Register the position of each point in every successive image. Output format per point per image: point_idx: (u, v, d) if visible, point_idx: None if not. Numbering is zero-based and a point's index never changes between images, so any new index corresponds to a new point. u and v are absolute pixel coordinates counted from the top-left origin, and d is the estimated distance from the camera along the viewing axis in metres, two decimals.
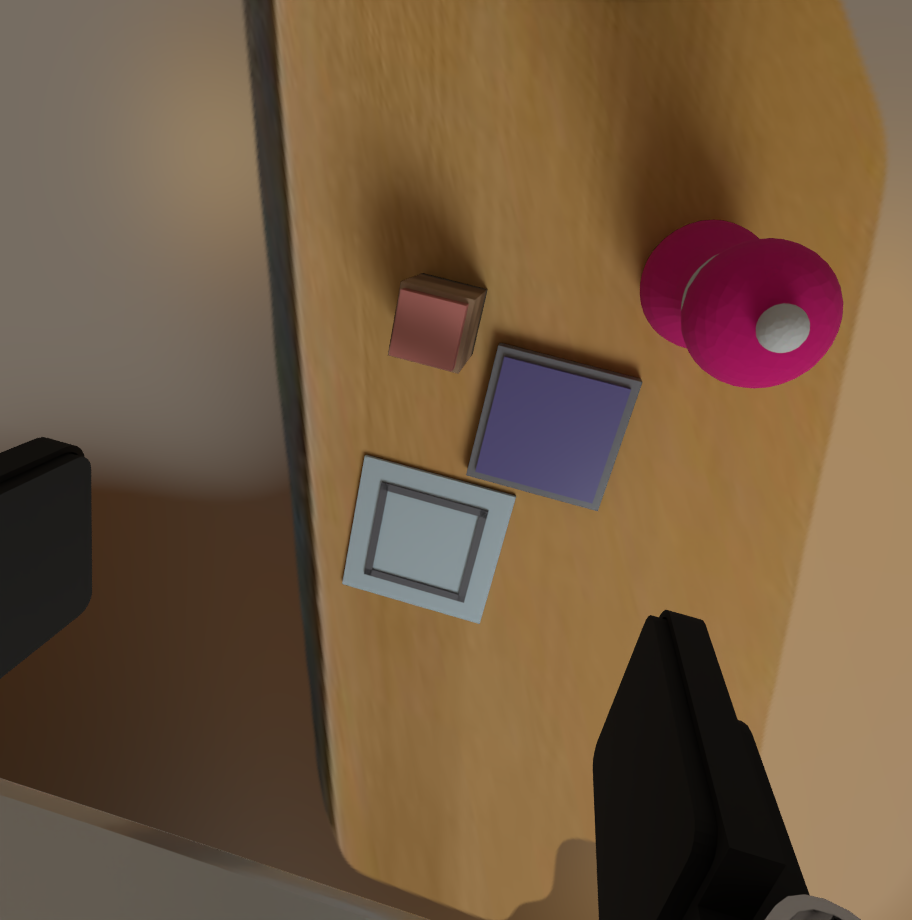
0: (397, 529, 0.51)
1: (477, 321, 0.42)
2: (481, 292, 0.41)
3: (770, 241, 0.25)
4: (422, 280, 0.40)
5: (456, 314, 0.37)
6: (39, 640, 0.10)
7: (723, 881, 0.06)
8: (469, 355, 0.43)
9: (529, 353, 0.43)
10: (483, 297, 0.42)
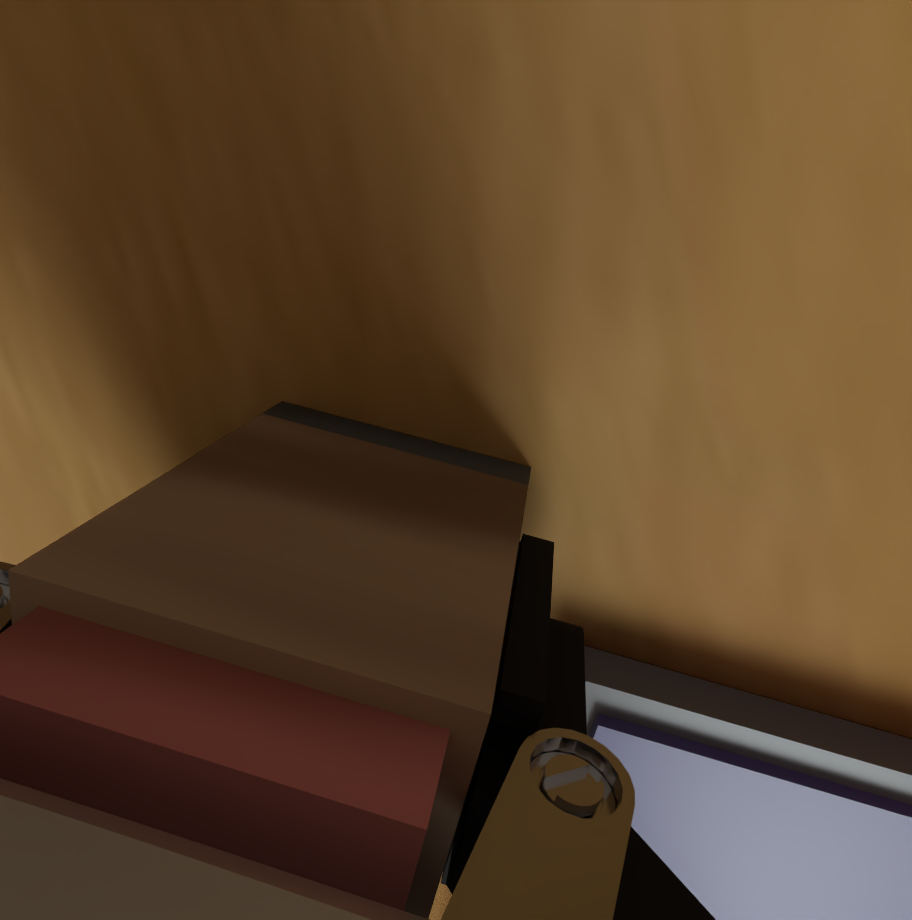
0: None
1: None
2: (513, 520, 0.09)
3: None
4: (224, 486, 0.08)
5: (355, 865, 0.05)
6: None
7: (500, 721, 0.07)
8: None
9: (696, 712, 0.11)
10: None
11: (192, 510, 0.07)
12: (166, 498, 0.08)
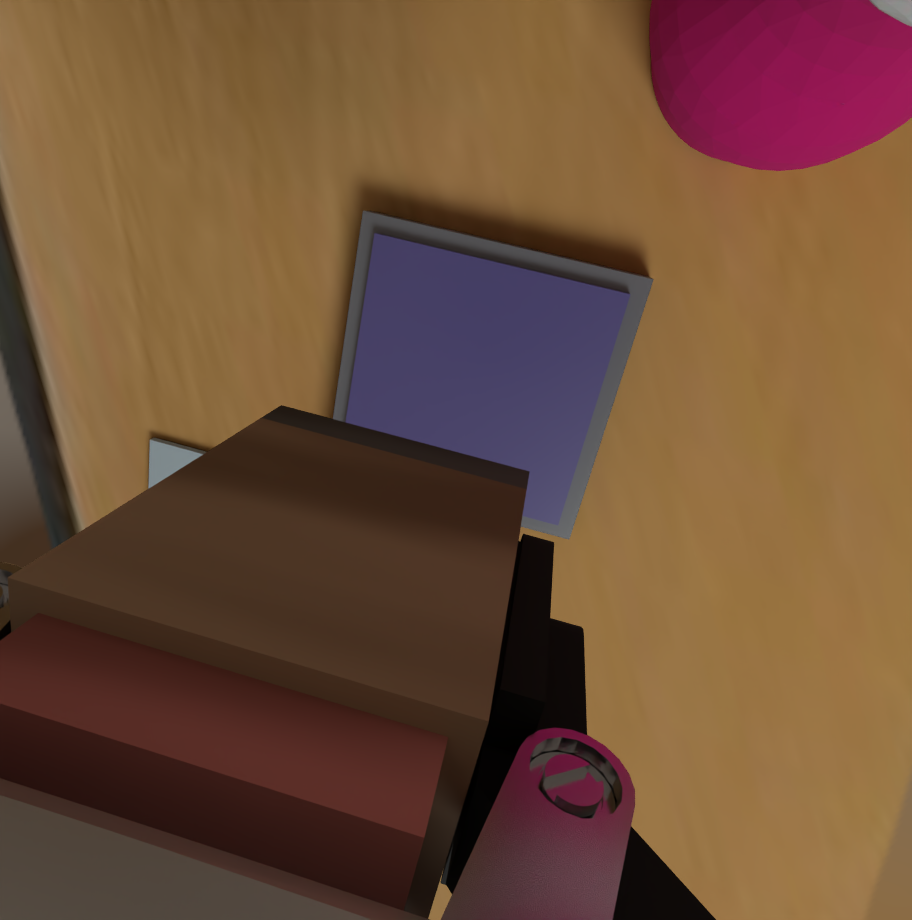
0: None
1: None
2: (512, 525, 0.09)
3: None
4: (223, 492, 0.08)
5: (353, 873, 0.05)
6: None
7: (500, 721, 0.07)
8: None
9: (425, 226, 0.21)
10: None
11: (191, 516, 0.07)
12: (165, 504, 0.08)
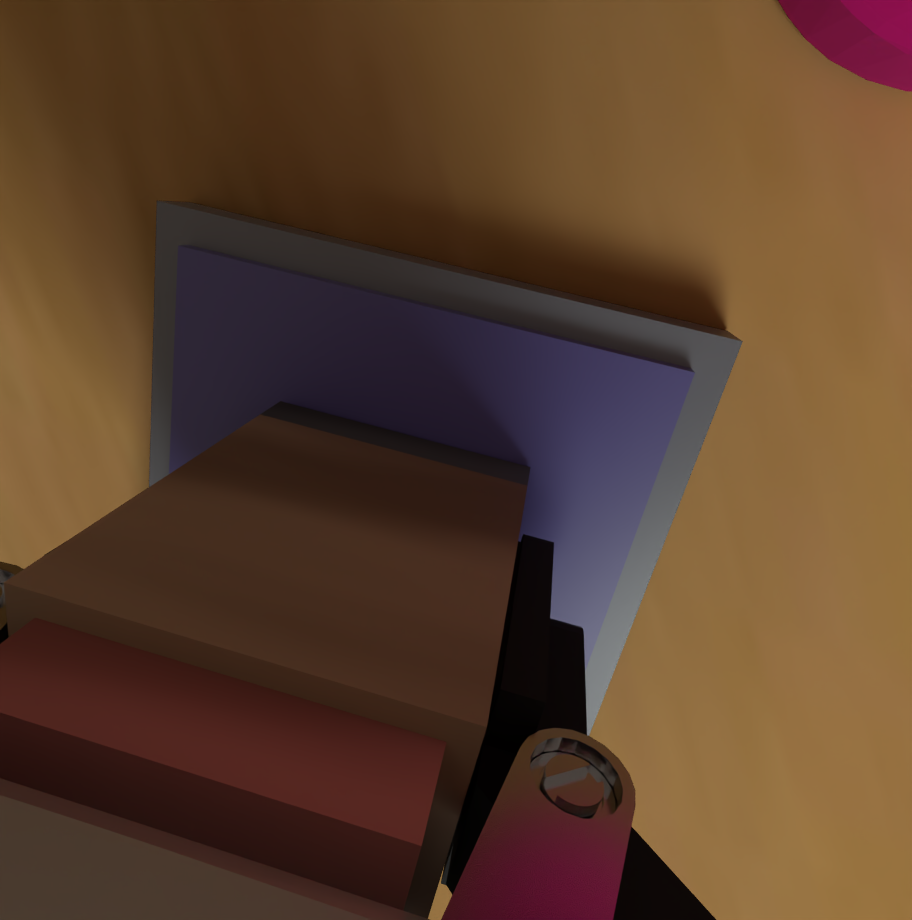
0: None
1: None
2: (512, 523, 0.09)
3: None
4: (221, 491, 0.08)
5: (351, 879, 0.05)
6: None
7: (501, 721, 0.07)
8: None
9: (279, 231, 0.11)
10: None
11: (189, 517, 0.07)
12: (163, 505, 0.08)
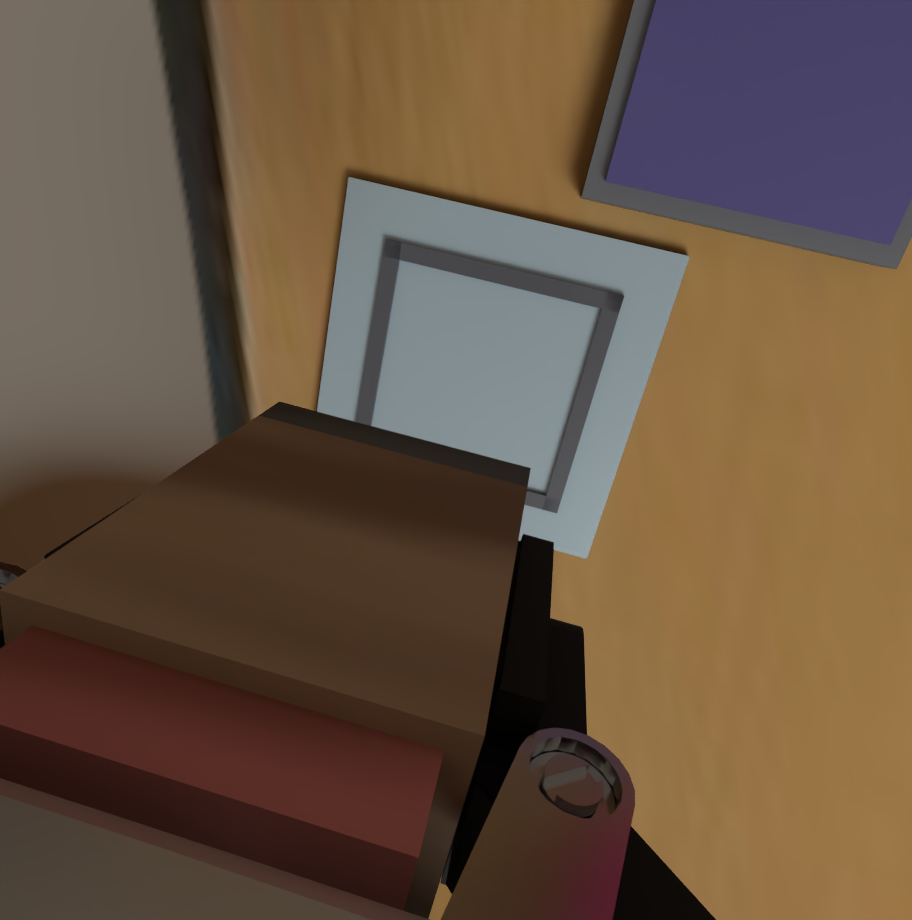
0: (419, 352, 0.24)
1: None
2: (512, 525, 0.09)
3: None
4: (219, 495, 0.08)
5: (348, 890, 0.05)
6: None
7: (500, 721, 0.07)
8: None
9: None
10: None
11: (186, 522, 0.07)
12: (160, 509, 0.07)
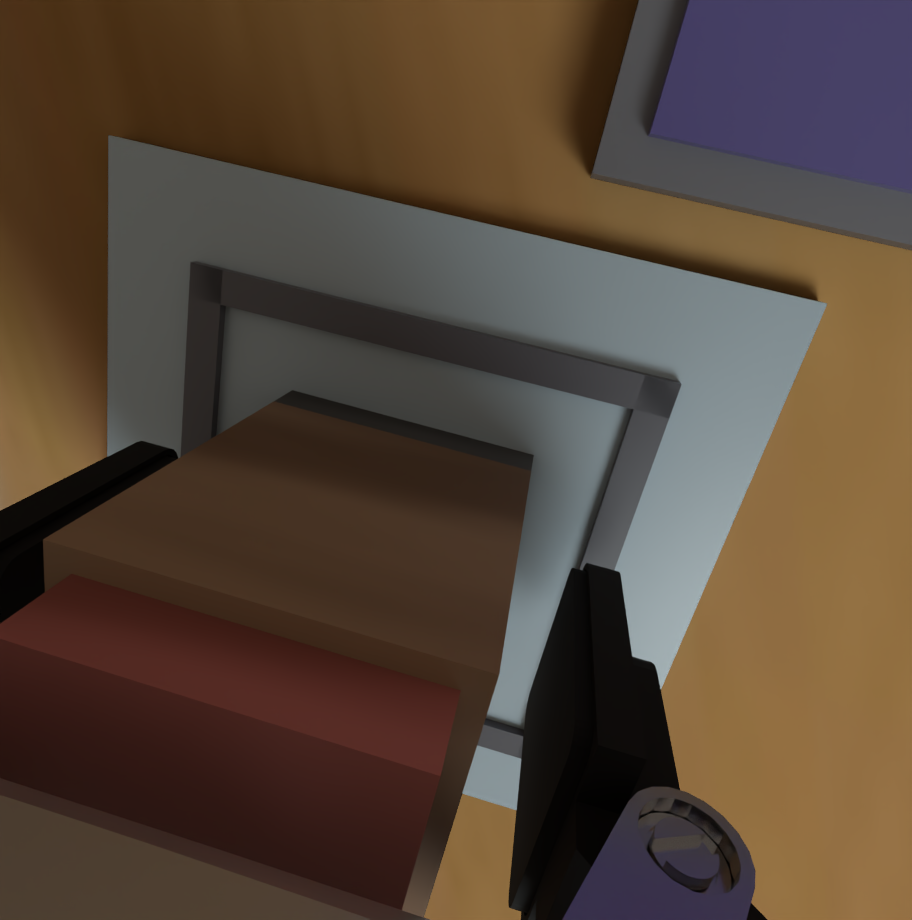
0: None
1: None
2: (517, 503, 0.09)
3: None
4: (240, 467, 0.08)
5: (373, 811, 0.05)
6: None
7: (596, 777, 0.07)
8: None
9: None
10: None
11: (211, 489, 0.08)
12: (186, 477, 0.08)
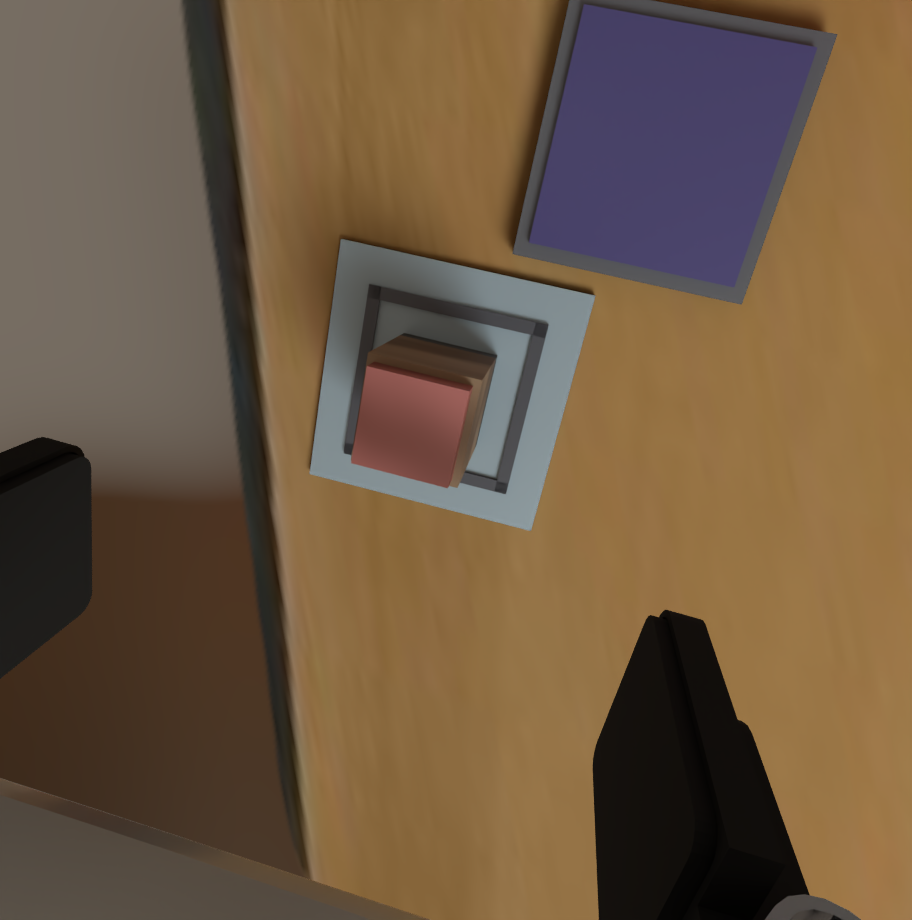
0: None
1: (484, 402, 0.29)
2: (489, 362, 0.28)
3: None
4: (402, 347, 0.27)
5: (454, 404, 0.24)
6: (39, 640, 0.10)
7: (723, 881, 0.06)
8: (472, 450, 0.30)
9: None
10: (492, 368, 0.29)
11: (398, 349, 0.26)
12: (389, 347, 0.26)
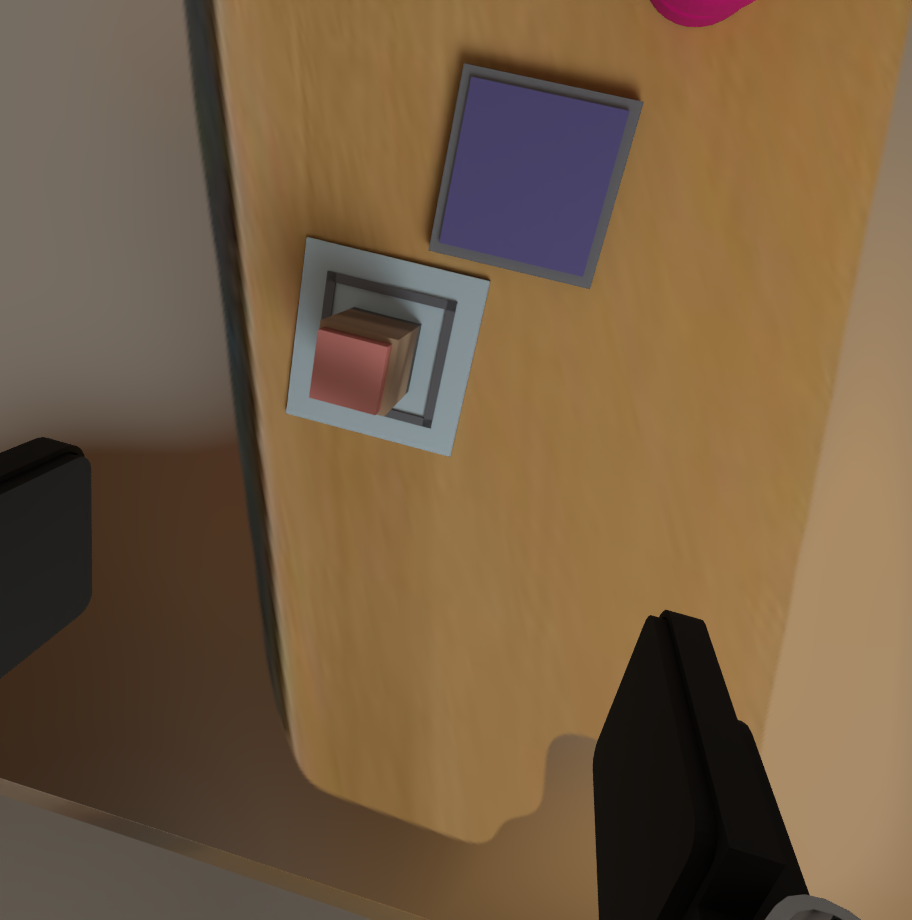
0: None
1: (409, 358, 0.40)
2: (412, 329, 0.39)
3: None
4: (347, 317, 0.38)
5: (377, 356, 0.35)
6: (39, 640, 0.10)
7: (723, 881, 0.06)
8: (402, 394, 0.41)
9: (502, 72, 0.35)
10: (415, 333, 0.40)
11: (343, 318, 0.37)
12: (338, 317, 0.37)
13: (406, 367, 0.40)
